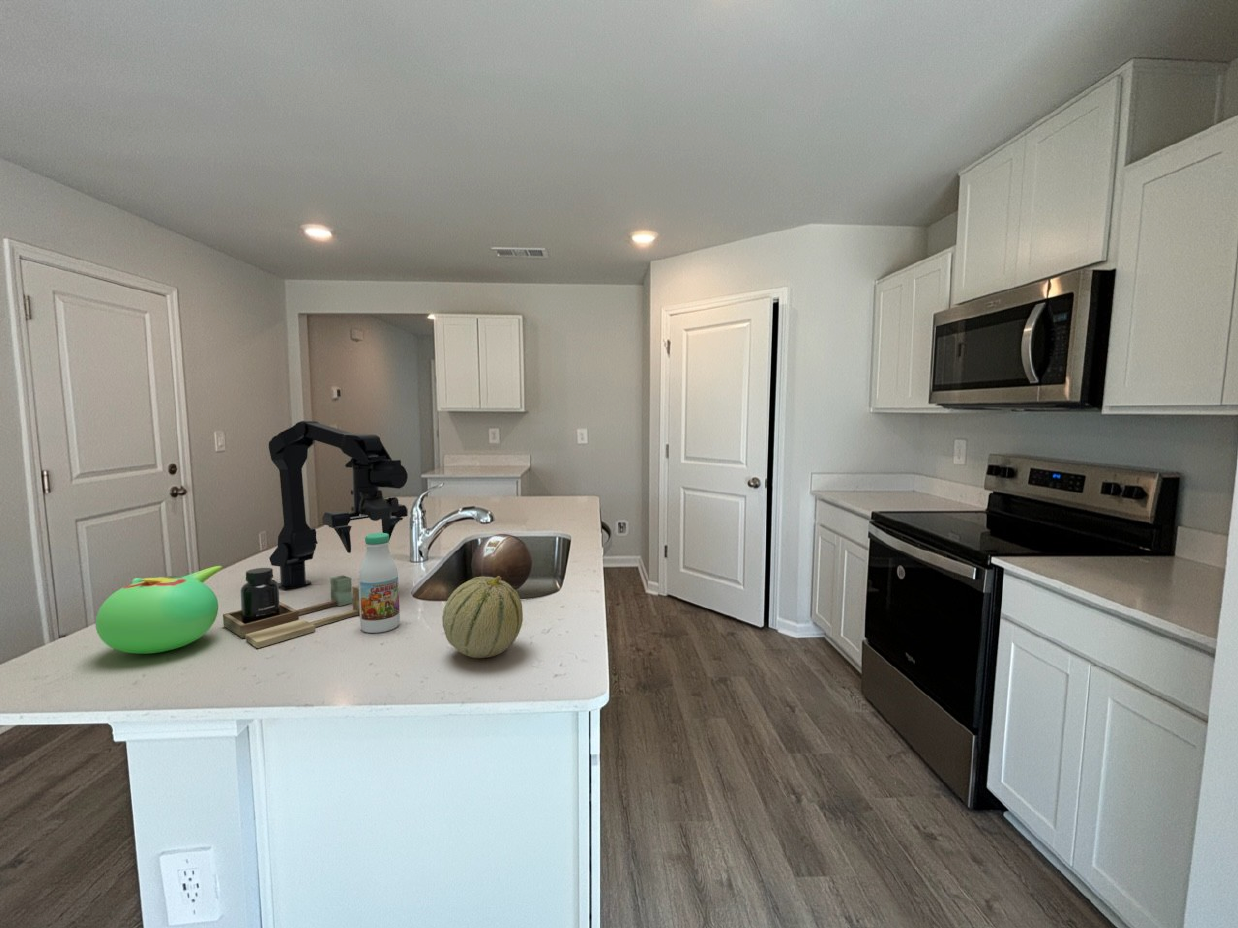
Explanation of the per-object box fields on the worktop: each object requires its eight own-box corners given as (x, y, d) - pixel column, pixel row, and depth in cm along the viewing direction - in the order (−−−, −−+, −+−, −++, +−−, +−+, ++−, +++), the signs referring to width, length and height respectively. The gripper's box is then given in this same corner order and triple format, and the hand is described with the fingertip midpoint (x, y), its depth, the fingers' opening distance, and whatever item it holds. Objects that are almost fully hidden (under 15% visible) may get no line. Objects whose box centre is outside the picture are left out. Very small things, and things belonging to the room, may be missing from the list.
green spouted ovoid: (76, 673, 94) (69, 591, 93) (134, 635, 111) (128, 565, 109) (197, 661, 99) (192, 582, 98) (235, 626, 115) (231, 559, 114)
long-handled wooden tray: (245, 640, 108) (243, 610, 107) (362, 607, 127) (361, 582, 126) (257, 648, 104) (255, 617, 104) (376, 612, 123) (375, 587, 123)
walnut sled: (223, 625, 115) (221, 598, 115) (337, 596, 134) (336, 572, 134) (242, 638, 109) (240, 609, 108) (359, 605, 128) (358, 580, 127)
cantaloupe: (441, 644, 107) (439, 569, 106) (516, 633, 112) (515, 562, 111) (445, 677, 93) (443, 592, 92) (530, 664, 98) (529, 583, 97)
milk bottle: (352, 629, 114) (348, 536, 112) (383, 617, 121) (380, 529, 119) (377, 636, 110) (373, 540, 109) (407, 624, 117) (405, 533, 115)
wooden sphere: (463, 602, 131) (462, 541, 130) (481, 582, 146) (480, 528, 145) (525, 603, 131) (524, 541, 129) (537, 583, 146) (536, 528, 144)
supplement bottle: (266, 631, 113) (263, 575, 112) (234, 631, 113) (231, 574, 112) (287, 619, 120) (284, 566, 119) (257, 618, 120) (254, 565, 119)
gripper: (342, 493, 120) (344, 562, 121) (419, 485, 135) (420, 547, 136) (320, 488, 127) (322, 554, 128) (395, 481, 141) (397, 540, 143)
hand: (367, 548), depth 134 cm, fingers open, 9 cm apart
